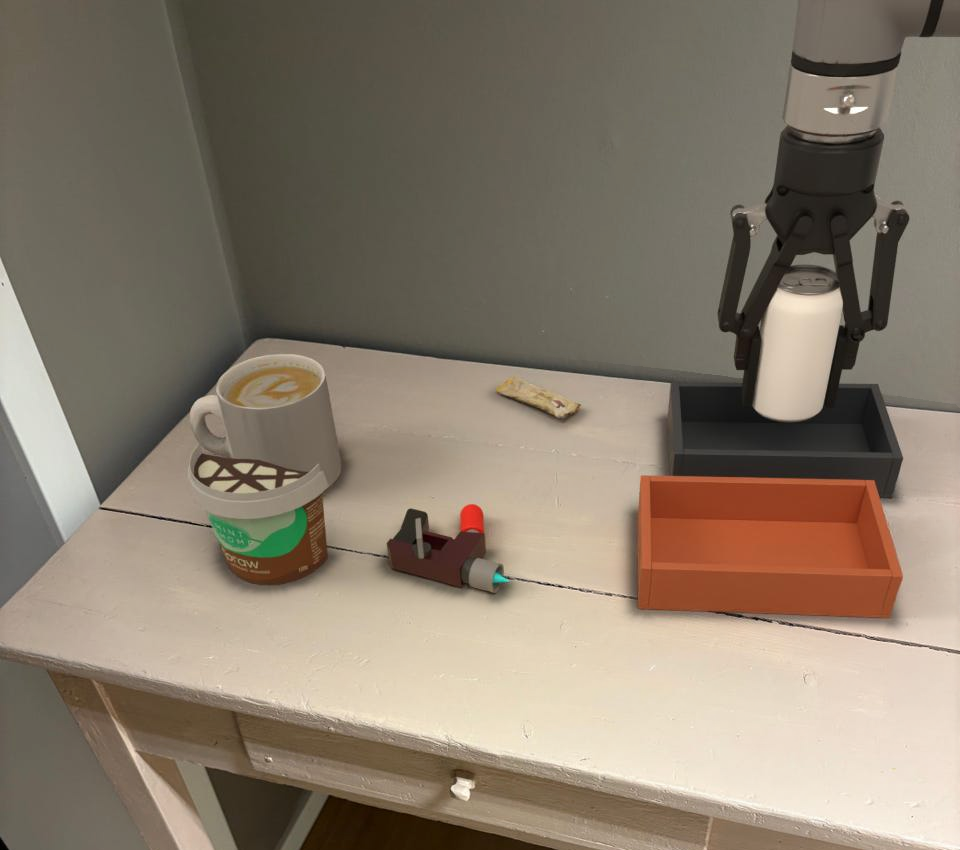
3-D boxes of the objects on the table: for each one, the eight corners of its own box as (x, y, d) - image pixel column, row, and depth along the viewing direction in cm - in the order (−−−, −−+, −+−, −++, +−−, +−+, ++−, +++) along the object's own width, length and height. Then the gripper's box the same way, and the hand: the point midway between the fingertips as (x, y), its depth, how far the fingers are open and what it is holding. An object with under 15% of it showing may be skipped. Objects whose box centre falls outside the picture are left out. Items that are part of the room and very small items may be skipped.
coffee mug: (356, 449, 99) (341, 358, 92) (318, 508, 92) (299, 414, 85) (235, 436, 102) (211, 346, 95) (190, 491, 95) (161, 399, 88)
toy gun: (502, 605, 81) (500, 559, 78) (374, 571, 85) (367, 526, 82) (546, 537, 88) (546, 491, 84) (425, 508, 92) (420, 463, 88)
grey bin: (868, 422, 98) (878, 383, 95) (891, 498, 89) (903, 457, 86) (667, 419, 100) (670, 381, 97) (670, 493, 91) (674, 453, 88)
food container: (184, 578, 86) (152, 483, 79) (221, 536, 90) (193, 442, 83) (311, 606, 82) (288, 509, 76) (343, 561, 87) (324, 464, 80)
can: (747, 387, 93) (764, 262, 85) (818, 388, 93) (843, 261, 84) (751, 424, 89) (769, 295, 81) (826, 425, 88) (852, 295, 80)
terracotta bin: (863, 520, 87) (874, 479, 84) (890, 618, 78) (903, 576, 75) (637, 514, 89) (640, 474, 86) (638, 608, 80) (641, 568, 77)
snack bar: (493, 389, 105) (511, 370, 106) (497, 399, 106) (515, 380, 107) (563, 418, 100) (581, 398, 100) (566, 428, 101) (584, 408, 102)
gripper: (703, 147, 73) (679, 421, 89) (982, 139, 70) (906, 422, 86) (698, 115, 78) (677, 379, 94) (957, 106, 76) (890, 378, 92)
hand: (786, 399), depth 90 cm, fingers closed on can, 6 cm apart
